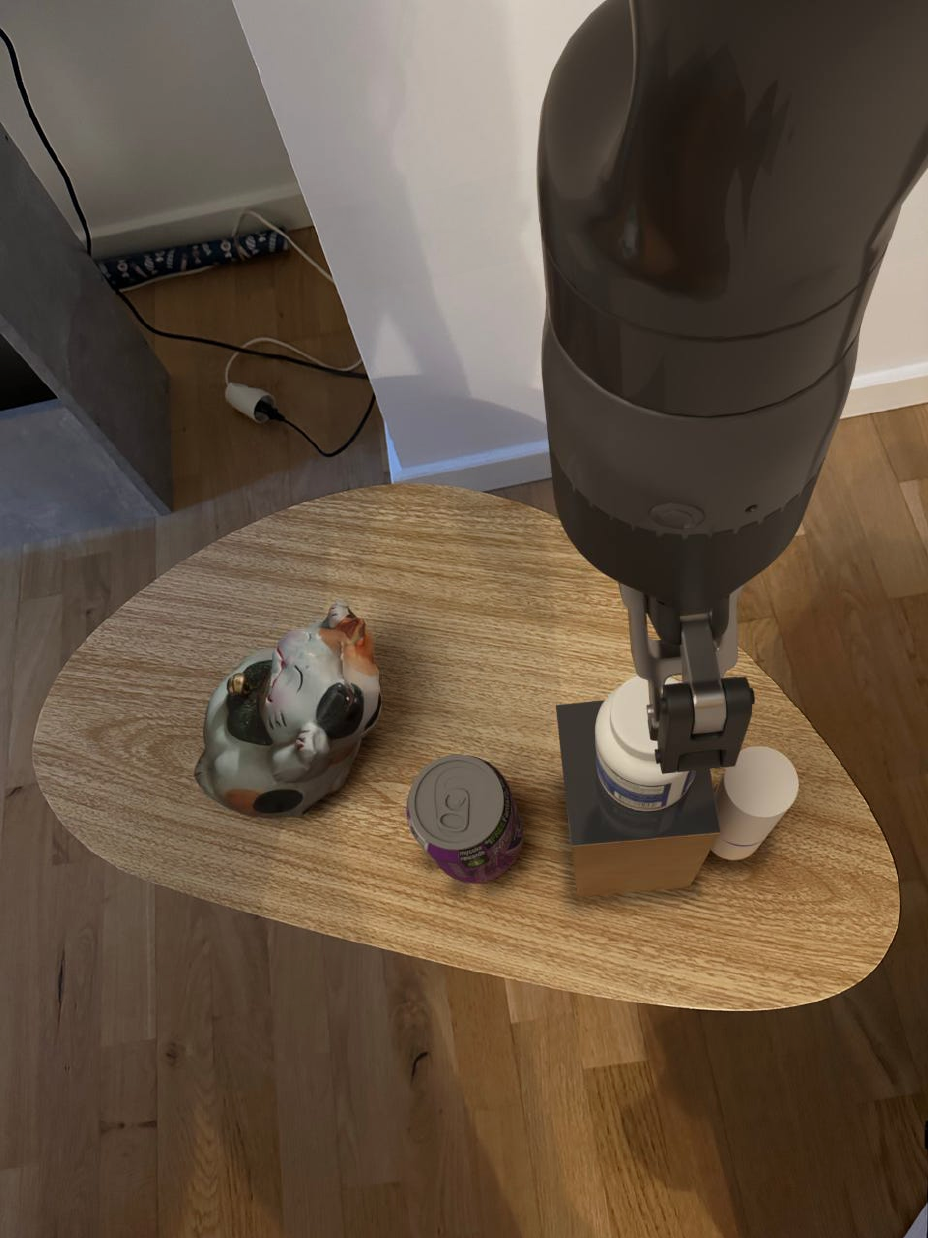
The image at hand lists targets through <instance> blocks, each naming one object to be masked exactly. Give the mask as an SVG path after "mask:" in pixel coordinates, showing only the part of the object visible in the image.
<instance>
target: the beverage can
mask: <svg viewBox="0 0 928 1238" xmlns="http://www.w3.org/2000/svg"><path fill="white" fill-rule="evenodd" d="M405 806H406V807H405V814H406V815H405V816H406V820H407V826H408V827H409V830H410V832H411V835H412V836H413V838H414V840H415V841H416V843H417V844H418V845H419V847H421V849H422V850H423V851H424V852H425V853H426V855H428V856H429V858H430V859H431V860H432V861H433V862H434V864H436V866H437V867H438V868H439V870H441V871H442V872H443V873H445V874H446V875H447V876H449V877H450V878H452V879H454V880H456V881H459V882H461V883H466V884H483V883H488V882H491V881H493V880H496V879H497V878H500V877H501V876H503V875H504V874H505V873H507V872H508V871H509V870H510V869H511V868H512V867H513V866H514V864H515V862H516V861H517V859H518V857H519V855H520V853H521V851H522V847H523V842H524V826H523V821H522V818H521V815H520V812H519V809H518V806H517V804H516V801H515V798H514V796H513V792H512V790H511V788H510V785H509V783H508V781H507V780H506V777H505V776H504V775H503V774H502V772H500V770H499V769H498V768H497V767H495V766H494V765H493V764H492V763H490V762H488V761H487V760H485V759H483V758H481V757H478V756H475V755H471V754H462V753H454V754H453V753H452V754H447V755H442V756H441V757H438V758H435V759H434V760H432V761H430V762H429V763H427V764H426V765H425V766H424V767H423V768H422V769H421V770H420V771H419V772H418V773H417V775H416V776H415V778H414V780H413V782H412V784H411V786H410V789H409V791H408V794H407V798H406V805H405Z"/></svg>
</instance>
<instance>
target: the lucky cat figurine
mask: <svg viewBox="0 0 928 1238" xmlns="http://www.w3.org/2000/svg"><path fill="white" fill-rule="evenodd" d="M379 676H380V671H379V669H378V666H377V665H376V663H375V645H374V641H373V638H372V636H371V632H370V631H369V630H368V628H367V625H366V622H365V620H364V618H363V617H358V616H357V615H356V614H355V613H354V612H353V611H352V610H351V609H350V606H349V605H348V603H347V601H345V600H344V601H342V600H339V599H338V598H337V599H335V603H333V604H332V605H331V606H330V608H329V609H328V612H327V616H326V617H325V618H321V619H319V620H316V621H314V622H313V623H311V625H310V626H307V627H300V628H297V629H293V630H288V632H286V633H285V634H284V635H283V636H281V637H280V638H279V640H278V642H277V645H276V647H274V646H273V647H265V648H259V649H258V650H257V649H256V651H254V652H252V653H251V654H248V655H247V656H246V657H245V658H244V659H243V660H242V661H241V662H240V663H239V665H238V667H237V668H236V669H235V670H234V671H233V672H232V673H227V674H225V675H223V677H222V680H221V683H220V684H219V685H218V687H216V689H214V691H213V692H212V695H211V697H210V698H209V700H208V702H207V705H206V708H205V715H204V719H203V725H202V738H203V744H204V748H203V752H202V753H201V754H200V757H199V759H198V760H197V762H196V765H195V768H194V771H193V777H194V779H195V780H196V782H197V785H198V786H199V788H200V790H202V792H203V793H204V794H205V795H206V796H207V797H209V798H210V799H212V800H213V801H215V802H216V803H218V805H221V806H222V807H225V808H227V809H228V810H230V811H233V812H235V813H239V814H240V815H243V816H246V817H252V818H258V819H259V818H260V819H279V818H282V819H284V818H294V819H295V818H304V817H305V816H306V814H308V813H309V811H310V810H311V809H312V808H313V807H315V805H316V804H317V803H318V802H320V801H321V800H322V799H324V798H326V797H328V796H331V795H333V794H334V793H336V792H337V791H338V790H340V789H341V788H342V787H343V786H344V785H345V783H346V782H347V781H346V780H347V778H348V776H349V774H350V771H351V767H352V765H353V763H354V760H355V758H356V757H357V755H358V753H359V750H360V747H361V743H362V739H364V738H365V737H366V736H368V734H370V732H371V731H372V730H373V729H374V727H375V725H376V723H377V721H378V719H379V717H380V716H381V712H382V707H383V697H382V693H381V687H380V682H379V680H380V677H379Z"/></svg>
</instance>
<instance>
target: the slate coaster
mask: <svg viewBox="0 0 928 1238" xmlns="http://www.w3.org/2000/svg"><path fill="white" fill-rule="evenodd" d="M604 701H605V699H602V700H592V701H583V702H575V703H574V702H573V703H564V704H555V713H556V721H557V733H558V740H559V749H560V760H561V768H562V769H561V770H562V778H563V787H564V788H563V789H564V796H565V797H564V798H565V805H566V814H567V815H566V816H567V825H568V834H569V835H568V836H569V843H570V848H571V847H578V846H589V845H600V844H611V843H623V842H634V841H645V840H656V839H667V838H678V837H689V836H701V835H712V834H720V826H719V819H718V813H717V807H716V801H715V795H714V793H715V790H714V784H713V778H712V771H711V769H705V770H696V773H695V776H694V779H693V781H692V783H691V785H690V787H689V789H688V790H687V791H686V793H685V794H684V795H683V796H682V797H681V798H680V799H679V800H678V801H676V802H675V803H673V804H672V805H670V806H668V807H666V808H663V809H660V810H655V811H640V810H635V809H632V808H629V807H626V806H624V805H622V804H620V803H619V802H617V801H616V800H615V799H614V798H613V797H611V796H610V795H609V793H608V792H607V791H606V789H605V788H604V786H603V785H602V783H601V780H600V778H599V775H598V771H597V766H596V744H595V725H596V720H597V716H598V712H599V710H600V707H601V706H602V704H603V702H604Z"/></svg>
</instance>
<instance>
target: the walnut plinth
mask: <svg viewBox="0 0 928 1238" xmlns="http://www.w3.org/2000/svg"><path fill="white" fill-rule="evenodd" d="M718 835H719V834H712V835H701V836H689V837H678V838H667V839H656V840H645V841H634V842H623V843H611V844H600V845H589V846H578V847H571V846H570V851H571V858H572V866H573V871H574V872H573V873H574V879H575V886H576V894H577V897H580V898H581V897H590V896H592V897H593V896H603V895H604V896H605V895H615V894H625V893H626V894H627V893H637V892H639V893H640V892H649V891H662V890H673V889H685V888H691V885H692V884H693V882H694V880H695V878H696V876H697V875H698V872H699V871H700V869H701V868H702V866H703V864H704V862H705V860H706V859H707V856H708V855H709V853H710V851H711V850H710V849H711V848H712V846H713V844H714V842H715V840H716V839H717V837H718Z"/></svg>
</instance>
